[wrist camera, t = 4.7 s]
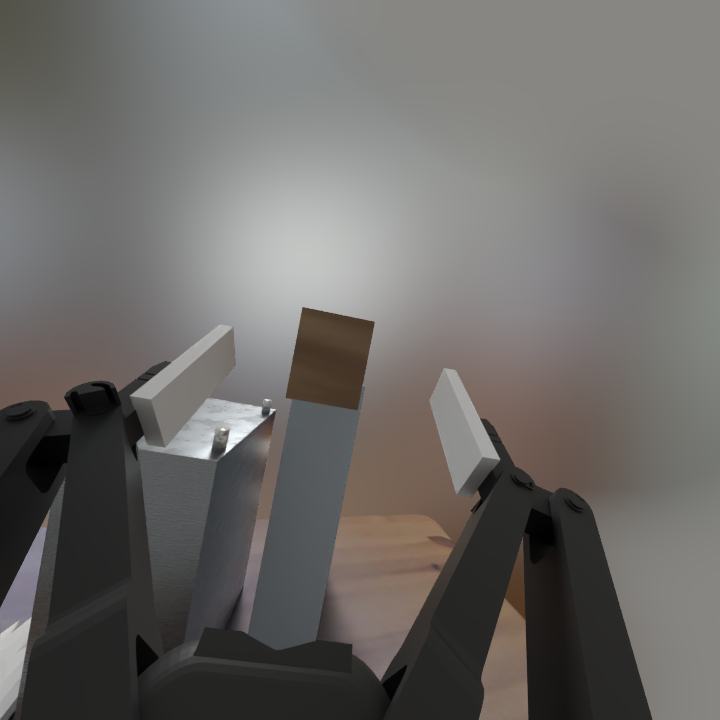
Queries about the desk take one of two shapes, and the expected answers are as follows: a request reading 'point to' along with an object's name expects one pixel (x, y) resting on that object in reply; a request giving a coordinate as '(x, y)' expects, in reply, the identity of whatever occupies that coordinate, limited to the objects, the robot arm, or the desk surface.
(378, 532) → the desk surface
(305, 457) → the stand
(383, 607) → the desk surface
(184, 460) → the plate
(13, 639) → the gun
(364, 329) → the rail
